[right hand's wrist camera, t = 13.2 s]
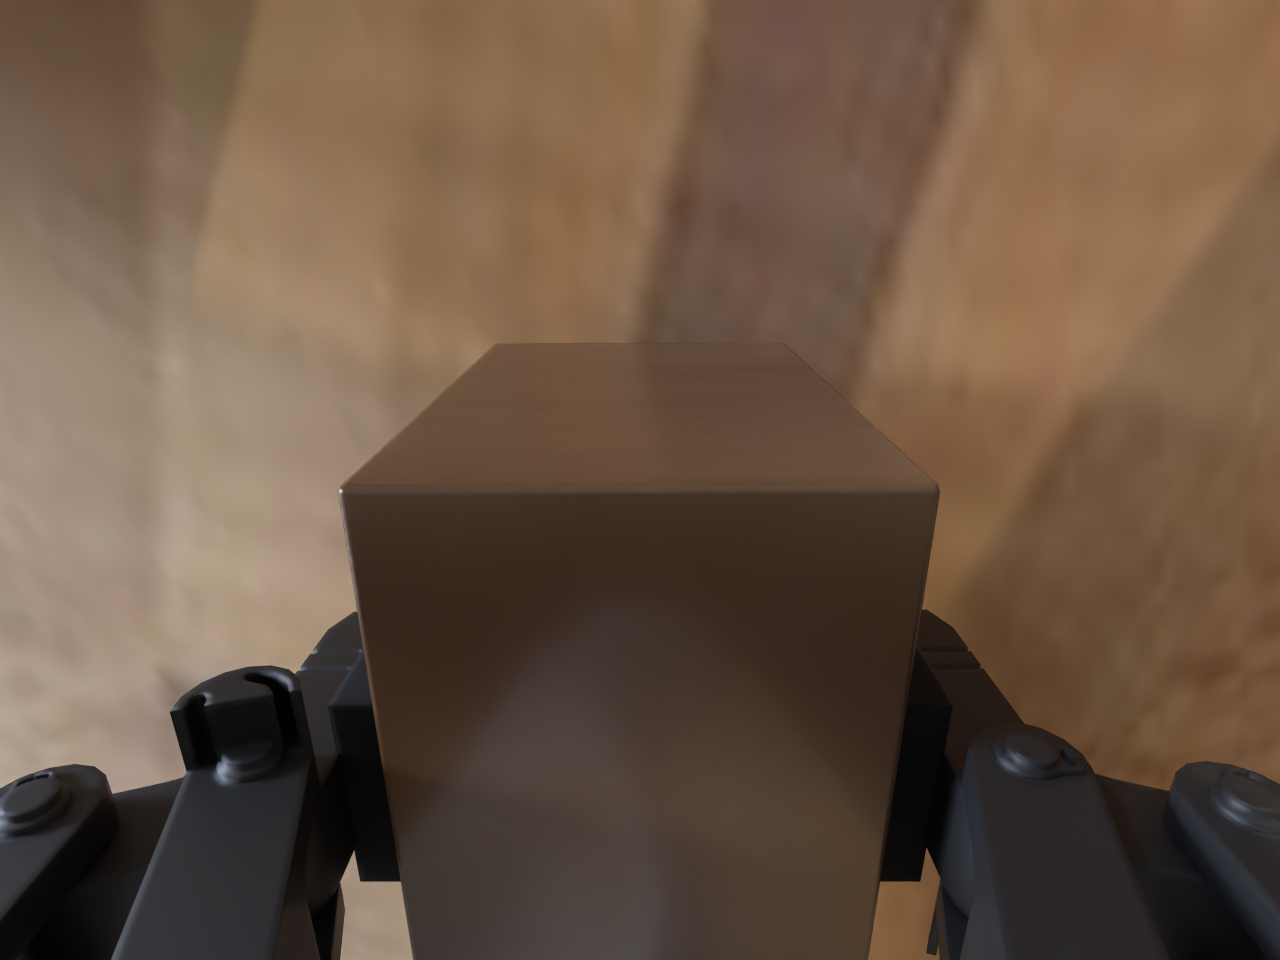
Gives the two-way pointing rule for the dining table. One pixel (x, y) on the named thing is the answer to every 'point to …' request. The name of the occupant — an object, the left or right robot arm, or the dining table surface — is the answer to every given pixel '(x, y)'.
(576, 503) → the beam
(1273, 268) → the dining table surface
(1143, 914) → the right robot arm
